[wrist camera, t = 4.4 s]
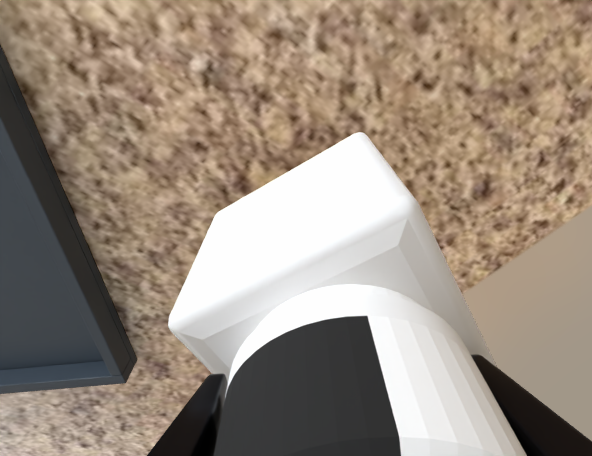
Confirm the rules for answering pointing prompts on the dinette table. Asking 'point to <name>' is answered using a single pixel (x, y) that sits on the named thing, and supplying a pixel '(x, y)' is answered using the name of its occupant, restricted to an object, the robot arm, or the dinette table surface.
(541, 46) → the dinette table surface
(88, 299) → the tray
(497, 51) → the dinette table surface
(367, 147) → the medicine bottle
